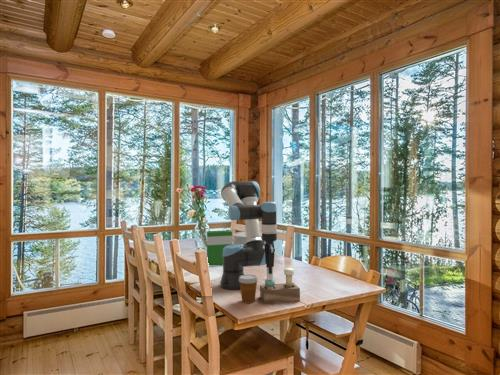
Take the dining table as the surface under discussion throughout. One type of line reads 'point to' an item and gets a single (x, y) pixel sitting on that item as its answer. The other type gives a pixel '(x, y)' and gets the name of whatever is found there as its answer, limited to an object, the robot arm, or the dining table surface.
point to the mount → (280, 293)
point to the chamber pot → (241, 238)
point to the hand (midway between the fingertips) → (269, 279)
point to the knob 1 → (269, 283)
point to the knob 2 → (288, 276)
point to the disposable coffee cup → (248, 287)
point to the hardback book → (217, 245)
